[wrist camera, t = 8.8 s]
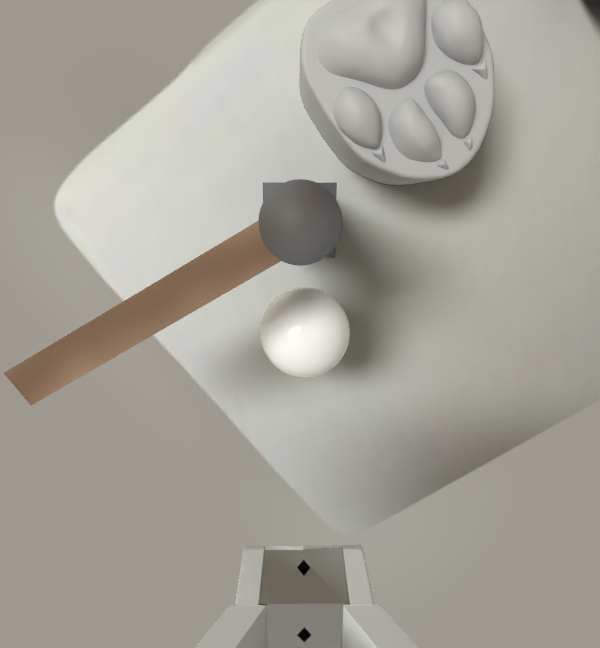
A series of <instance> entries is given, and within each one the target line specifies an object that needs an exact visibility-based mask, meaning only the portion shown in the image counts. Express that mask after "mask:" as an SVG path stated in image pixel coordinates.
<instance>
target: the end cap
mask: <svg viewBox="0 0 600 648" xmlns="http://www.w3.org/2000/svg"><path fill="white" fill-rule="evenodd" d="M588 1H589V2H590V3H591V4H592V5H593V6H594V7H596V8H598V9H599V10H600V0H588Z"/></svg>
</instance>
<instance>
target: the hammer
mask: <svg viewBox="0 0 600 648" xmlns="http://www.w3.org/2000/svg"><path fill="white" fill-rule="evenodd" d="M341 229H342V216H341V211H340V208H339V205H338V203H337V201H336V200H335V198H334V197H333V195H332V194H331V193H330V192H329V191H328V190H327V189H326V188H324V187H323V186H322V185H320V184H318V183H316V182H313V181H309V180H301V179H300V180H292V181H288V182H285V183H283V184H281V185H279V186H278V187H276V188H275V189H274V190H273V191H271V192H270V194H269V195H268V196H267V197H266V199H265V200H264V202H263V204H262V207H261V210H260V214H259V221H257V222H256V223H254V224H252V225H251V226H249V227H247V228H246V229H244V230H242V231H241V232H239V233H237V234H236V235H234V236H232V237H231V238H229V239H227V240H226V241H224V242H222V243H221V244H219V245H217V246H215V247H214V248H212V249H210V250H209V251H207V252H205V253H204V254H202V255H200V256H199V257H197V258H195V259H194V260H192V261H190V262H189V263H187V264H185V265H184V266H182V267H180V268H179V269H177V270H175V271H174V272H172V273H170V274H169V275H167V276H165V277H164V278H162V279H160V280H159V281H157V282H155V283H154V284H152V285H150V286H149V287H147V288H145V289H144V290H142V291H140V292H139V293H137V294H135V295H134V296H132V297H130V298H129V299H127V300H125V301H124V302H122V303H120V304H119V305H117V306H115V307H114V308H112V309H110V310H109V311H107V312H105V313H103V314H102V315H100V316H99V317H97V318H95V319H94V320H92V321H90V322H88V323H87V324H85V325H83V326H82V327H80V328H79V329H77V330H75V331H73V332H72V333H70V334H68V335H67V336H65V337H63V338H62V339H60V340H58V341H57V342H55V343H53V344H52V345H50V346H48V347H47V348H45V349H43V350H42V351H40V352H38V353H37V354H35V355H33V356H32V357H30V358H28V359H27V360H25V361H23V362H22V363H20V364H18V365H17V366H15V367H13V368H11V369H10V370H8V371H6V372H5V373H4V374H5V375H6V376H7V378H8V379H9V380H10V381H11V382H12V383H13V385H14V386H15V387H16V388H17V389H18V390H19V392H20V393H21V394H22V395H23V396H24V398H25V399H26V400H27V401H28V402H29V403H30V405H32V404H34V403H36V402H38V401H39V400H41V399H43V398H45V397H46V396H48V395H50V394H51V393H53V392H55V391H57V390H58V389H60V388H62V387H63V386H65V385H67V384H69V383H70V382H72V381H74V380H76V379H77V378H79V377H81V376H83V375H84V374H86V373H88V372H90V371H91V370H93V369H95V368H96V367H98V366H100V365H102V364H103V363H105V362H107V361H109V360H110V359H112V358H114V357H115V356H117V355H119V354H121V353H122V352H124V351H126V350H128V349H129V348H131V347H133V346H135V345H136V344H138V343H140V342H142V341H143V340H145V339H147V338H148V337H150V336H152V335H154V334H155V333H157V332H159V331H161V330H162V329H164V328H166V327H167V326H169V325H171V324H173V323H174V322H176V321H178V320H180V319H181V318H183V317H185V316H187V315H188V314H190V313H192V312H193V311H195V310H197V309H199V308H200V307H202V306H204V305H206V304H207V303H209V302H211V301H213V300H214V299H216V298H218V297H219V296H221V295H223V294H225V293H226V292H228V291H230V290H232V289H233V288H235V287H237V286H238V285H240V284H242V283H244V282H245V281H247V280H249V279H251V278H252V277H254V276H256V275H258V274H259V273H261V272H263V271H264V270H266V269H268V268H270V267H271V266H273V265H275V264H277V263H278V262H280V261H283V262H285V263H288V264H293V265H308V264H312V263H315V262H317V261H319V260H321V259H323V258H324V257H326V256H327V255H328V254H329V253H330V252H331V251H332V250H333V248H334V247H335V245H336V243H337V242H338V239H339V237H340V233H341Z"/></svg>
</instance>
